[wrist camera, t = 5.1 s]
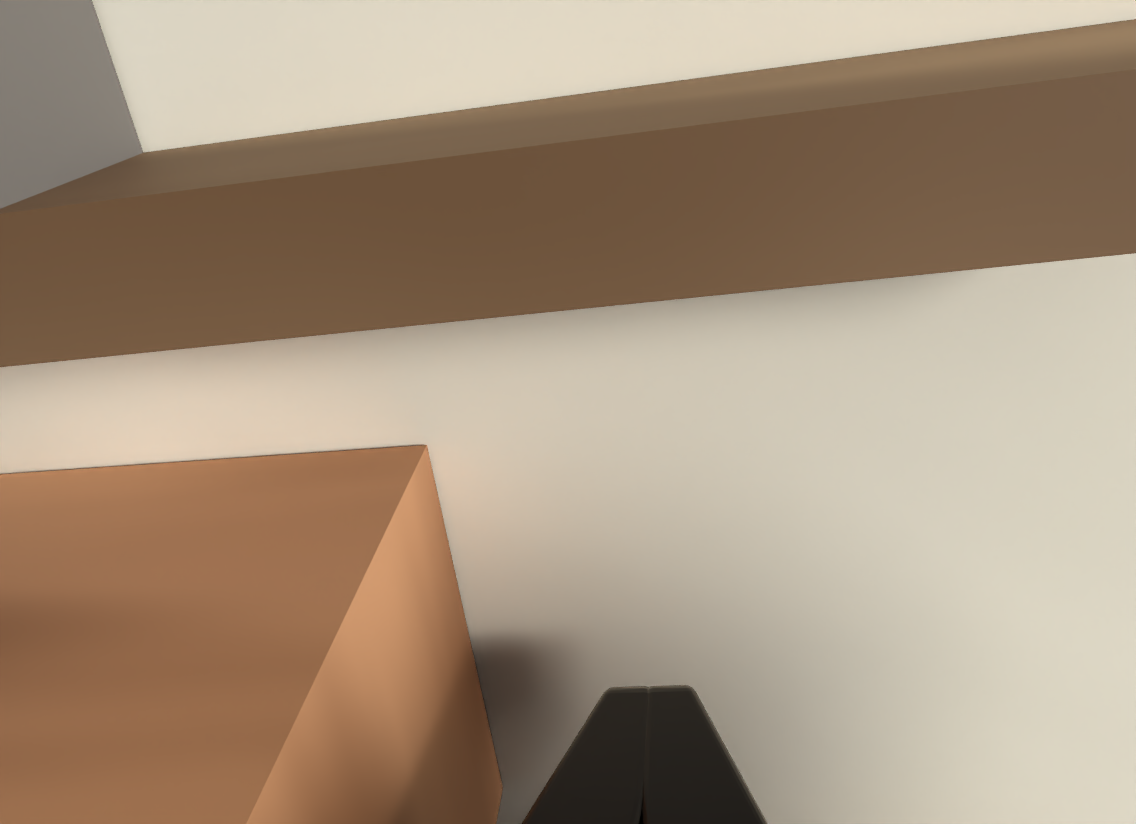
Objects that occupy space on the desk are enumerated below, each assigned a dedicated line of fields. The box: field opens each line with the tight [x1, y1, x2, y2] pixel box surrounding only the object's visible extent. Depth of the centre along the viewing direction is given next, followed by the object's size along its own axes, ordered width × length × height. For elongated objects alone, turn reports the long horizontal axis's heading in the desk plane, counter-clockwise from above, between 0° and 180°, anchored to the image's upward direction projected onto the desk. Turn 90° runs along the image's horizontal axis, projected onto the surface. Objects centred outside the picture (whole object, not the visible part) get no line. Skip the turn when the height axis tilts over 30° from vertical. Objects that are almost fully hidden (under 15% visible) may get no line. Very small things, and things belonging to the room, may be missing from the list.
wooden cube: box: [0, 445, 503, 824], centre depth 8 cm, size 4×4×4 cm
